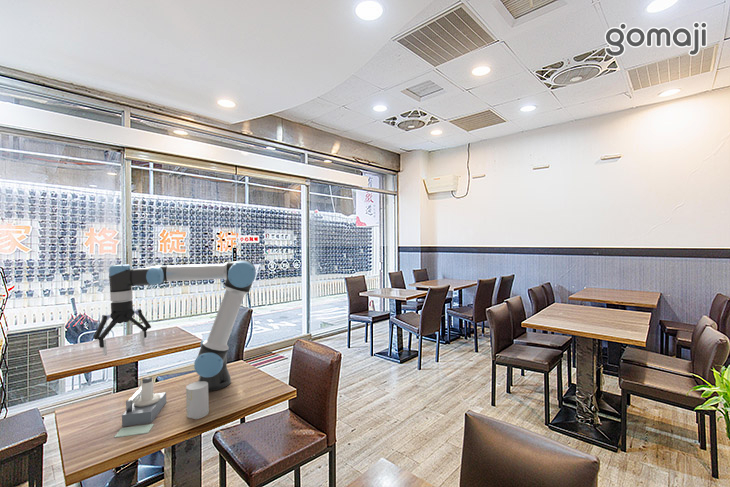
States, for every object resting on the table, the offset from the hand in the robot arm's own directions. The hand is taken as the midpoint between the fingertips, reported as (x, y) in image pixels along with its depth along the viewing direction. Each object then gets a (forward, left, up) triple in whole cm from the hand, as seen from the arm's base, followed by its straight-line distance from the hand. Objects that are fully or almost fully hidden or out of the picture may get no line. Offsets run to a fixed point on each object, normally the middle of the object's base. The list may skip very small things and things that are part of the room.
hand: (124, 350), depth 144 cm
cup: (-32, +13, -26) cm, 43 cm away
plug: (-11, +7, -25) cm, 28 cm away
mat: (-12, +21, -25) cm, 35 cm away
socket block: (-11, +8, -25) cm, 29 cm away
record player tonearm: (-7, +7, -20) cm, 22 cm away
